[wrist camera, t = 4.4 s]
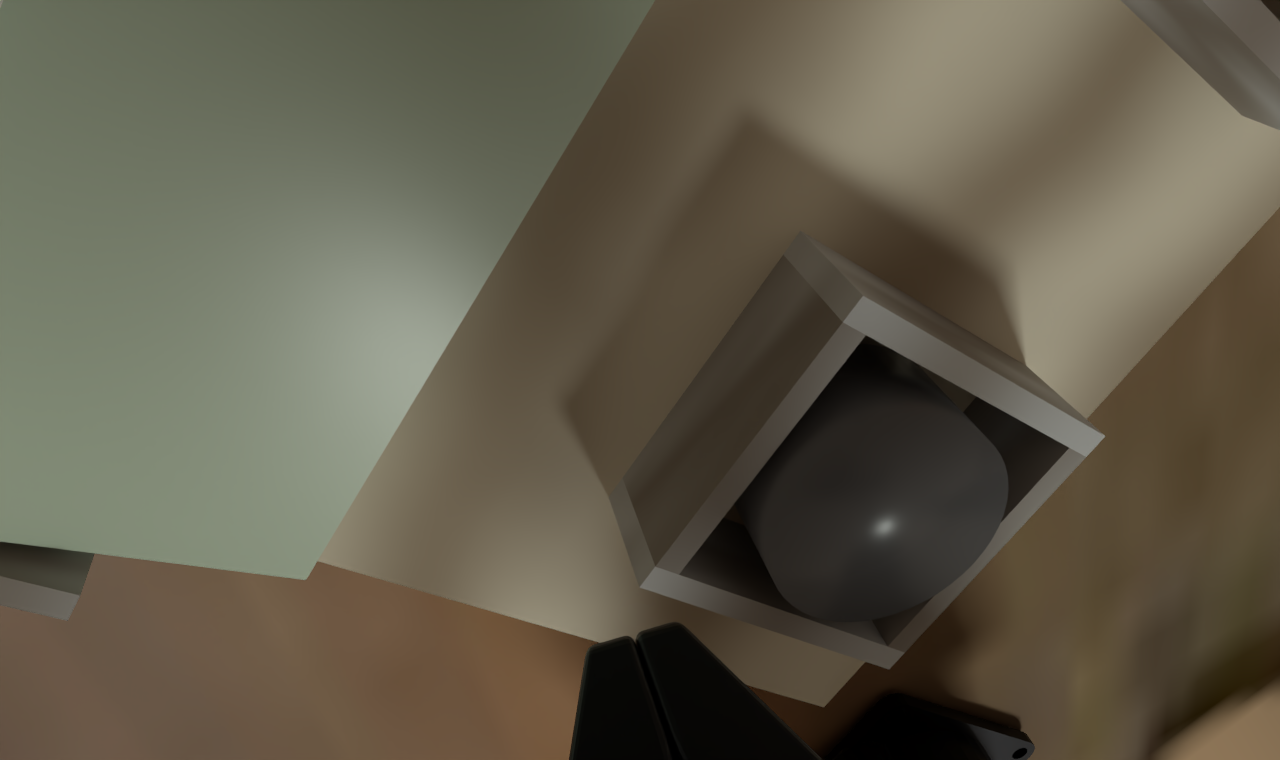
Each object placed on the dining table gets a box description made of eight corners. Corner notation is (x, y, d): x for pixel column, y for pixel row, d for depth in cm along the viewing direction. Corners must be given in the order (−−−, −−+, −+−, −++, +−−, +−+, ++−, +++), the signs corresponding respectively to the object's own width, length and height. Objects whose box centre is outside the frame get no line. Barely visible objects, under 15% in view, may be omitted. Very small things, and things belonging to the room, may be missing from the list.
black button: (980, 396, 19) (1056, 473, 17) (842, 557, 20) (897, 646, 18) (818, 306, 17) (882, 381, 15) (678, 492, 18) (718, 583, 16)
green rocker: (643, -70, 13) (687, -42, 12) (294, 528, 16) (307, 586, 15) (-83, -603, 8) (-110, -631, 7) (-353, 425, 11) (-395, 501, 10)
